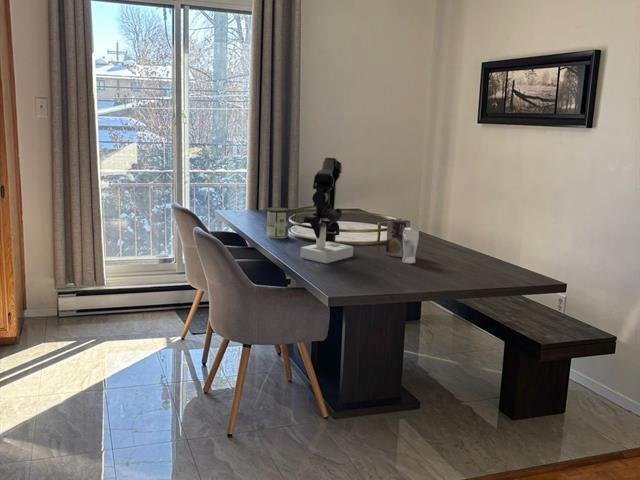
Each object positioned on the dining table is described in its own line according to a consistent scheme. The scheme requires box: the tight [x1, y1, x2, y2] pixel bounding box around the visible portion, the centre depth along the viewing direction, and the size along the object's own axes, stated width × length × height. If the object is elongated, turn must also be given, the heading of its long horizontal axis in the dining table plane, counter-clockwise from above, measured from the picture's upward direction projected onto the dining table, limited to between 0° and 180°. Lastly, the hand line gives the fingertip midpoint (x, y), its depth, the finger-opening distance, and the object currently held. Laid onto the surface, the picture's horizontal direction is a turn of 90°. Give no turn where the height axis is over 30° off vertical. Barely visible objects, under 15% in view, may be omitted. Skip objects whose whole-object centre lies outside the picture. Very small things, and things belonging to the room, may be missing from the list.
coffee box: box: [385, 218, 411, 258], centre depth 300 cm, size 9×6×16 cm
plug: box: [315, 223, 326, 248], centre depth 285 cm, size 4×4×10 cm
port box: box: [299, 241, 354, 264], centre depth 291 cm, size 20×14×5 cm
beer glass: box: [401, 226, 420, 265], centre depth 287 cm, size 7×7×15 cm
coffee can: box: [266, 206, 289, 239], centre depth 328 cm, size 10×10×14 cm
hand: (320, 237), depth 285 cm, fingers closed on plug, 4 cm apart
